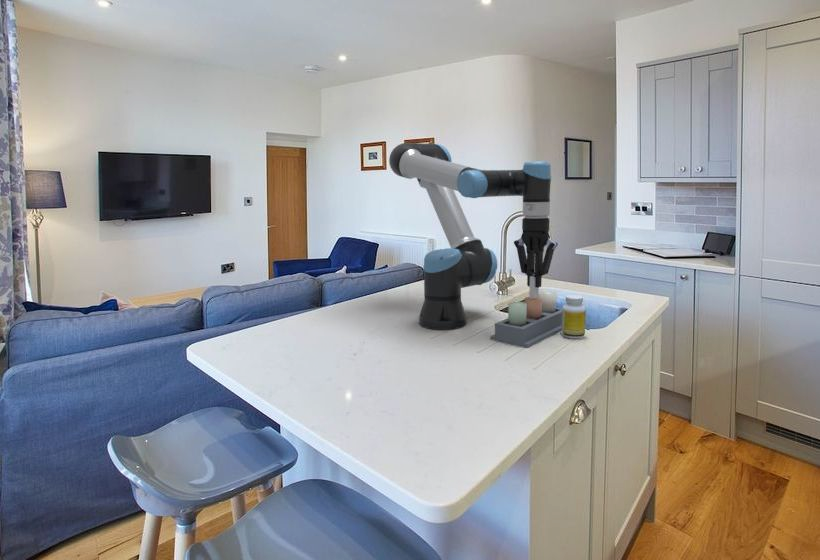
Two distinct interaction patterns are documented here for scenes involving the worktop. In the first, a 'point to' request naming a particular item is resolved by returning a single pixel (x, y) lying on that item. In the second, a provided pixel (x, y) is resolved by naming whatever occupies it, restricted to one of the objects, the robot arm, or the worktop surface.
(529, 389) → the worktop surface
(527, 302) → the pink cylinder
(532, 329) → the button panel
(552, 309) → the button cream
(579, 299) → the pill bottle
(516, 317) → the button sage
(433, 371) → the worktop surface
